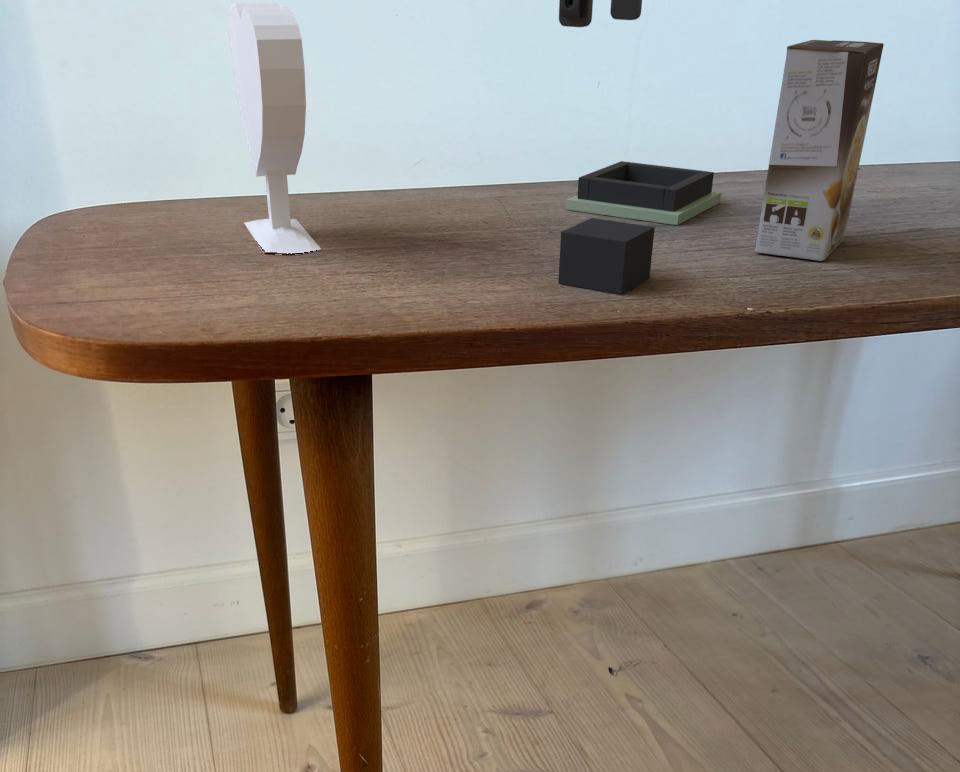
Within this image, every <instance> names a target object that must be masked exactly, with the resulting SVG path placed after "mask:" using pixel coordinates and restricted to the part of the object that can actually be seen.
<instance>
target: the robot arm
mask: <svg viewBox="0 0 960 772" xmlns="http://www.w3.org/2000/svg"><path fill="white" fill-rule="evenodd" d="M558 2H559V4H558V22H559V24H560V26H562V27H568V28H586V27H589V26H590V25H591V23H592V19H593V5H594V0H559V1H558ZM642 6H643V0H610V12H609V14H610V16H611V19H614V20H618V21H635V20H638V19H639V18H640V17H641V15H642Z"/></svg>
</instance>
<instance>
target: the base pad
mask: <svg viewBox="0 0 960 772" xmlns="http://www.w3.org/2000/svg"><path fill="white" fill-rule="evenodd" d="M714 175H715V172H714V171H707V170H699V169H693V168H683V167H674V166H665V165H658V164H657V165H656V164H649V163H648V164H647V163H641V162H633V161H632V162H630V161H623V160H620V161H618V162H616V163H613V164H610V165H607V166H605V167H602V168H600V169H597V170H595V171H592V172H589V173H586V174H584V175H581V176H579V177H578V181H577V194H576V195H574V196H571V197H569V198H567V199H566V201H565V202H566V204H565V206H566V207H565V210H567V211H574V212H579V213H580V212H581V213H587V214H594V215H601V216H609V217H615V218H623V219H629V220H637V221H644V222H649V223H656V224H664V225H671V226H679V225H681V224H683V223H685V222H687V221H688V220H690V219H692V218H694V217H696V216H698V215H700V214H701V213H703V212H705V211H707V210H708V209H710V208H712V207H714V206H717V205H718V204H720V203H721V199H722V192H720V191H713V184H714Z"/></svg>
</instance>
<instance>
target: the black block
mask: <svg viewBox="0 0 960 772" xmlns="http://www.w3.org/2000/svg"><path fill="white" fill-rule="evenodd" d="M654 239H655V226H649V225H642V224H637V223H636V224H635V223H630V222H629V223H628V222H622V221H617V220H616V221H615V220H610V219H602V218H594V217H591V218H588V219H587V220H584V221H582V222H579V223H578V224H575V225H573V226H570V227H568V228H566V229H564V230H563V231H561V232H560V241H559V242H560V244H559V261H558V262H559V263H558V282H557V283H558V284H560V285H565V286H571V287H576V288H582V289H586V290H588V289H589V290H593V291H600V292H604V293H611V294H617V295H624V294H625V293H627V292H628V291H630V290H632V289H634V288H636V287H638V285H640V284H642V283H643V282H645V281H647V280H648V279H650V276H651V268H652V259H653V257H652V256H653V248H654Z"/></svg>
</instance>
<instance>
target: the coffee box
mask: <svg viewBox="0 0 960 772" xmlns="http://www.w3.org/2000/svg"><path fill="white" fill-rule="evenodd" d="M884 45H885V44H884V43H883V42H874V41H873V42H872V41H858V40H857V41H856V40H825V39H811V40H806V41H802V42H799V43H798V42H797V43H795V44H791V45H787V46H786V55H785V61H784V67H783V68H784V69H783V75H782V79H781V80H782V81H781V88H780V94H779V97H778V105H777V111H776V117H775V124H774V130H773V137H772V143H771V150H770V156H769V162H768V169H767V173H766V181H765V187H764V192H763V199H762V204H761V211H760V218H759V223H758V224H759V225H758V230H757V236H756V242H755V243H756V244H755V249H754V252H755V253H757V254H764V255H771V256H780V257H787V258H795V259H802V260H803V259H804V260H809V261H816V262H822V261H825V260H826V259H827V258H828V257H829V256H830V255H831V254H832V253H833V252H834V251H835V249H837V248H838V247H839V246H840V245H841V243H842V242H843V241H844V240H845V236H846V232H847V226H848V222H849V217H850V212H851V208H852V202H853V197H854V194H855V193H854V192H855V188H856V183H857V178H858V174H859V173H858V172H859V169H860V164H861V163H860V162H861V157H862V153H863V148H864V143H865V139H866V133H867V128H868V123H869V119H870V114H871V109H872V104H873V99H874V94H875V89H876V84H877V79H878V74H879V69H880V64H881V61H882V60H881V59H882V54H883V50H884Z"/></svg>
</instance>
